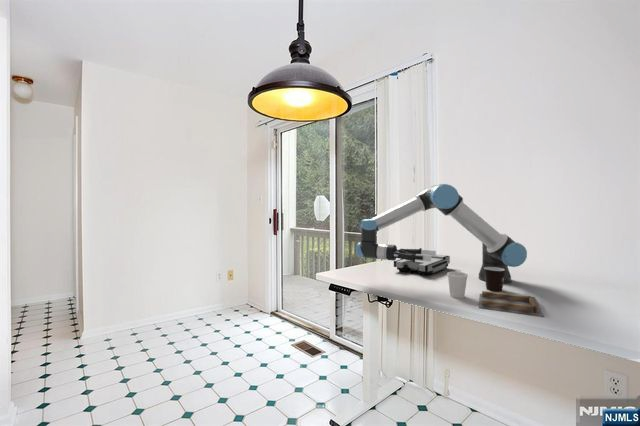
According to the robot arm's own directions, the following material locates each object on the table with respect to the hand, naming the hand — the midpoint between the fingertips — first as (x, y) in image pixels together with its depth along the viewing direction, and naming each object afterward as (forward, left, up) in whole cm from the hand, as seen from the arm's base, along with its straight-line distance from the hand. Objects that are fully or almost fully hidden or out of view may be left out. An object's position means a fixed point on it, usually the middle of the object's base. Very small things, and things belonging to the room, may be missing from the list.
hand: (433, 256), depth 141 cm
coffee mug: (-32, -4, -17) cm, 36 cm away
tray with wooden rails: (-24, +17, -17) cm, 34 cm away
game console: (-12, -46, -18) cm, 51 cm away
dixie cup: (-9, +5, -17) cm, 20 cm away
